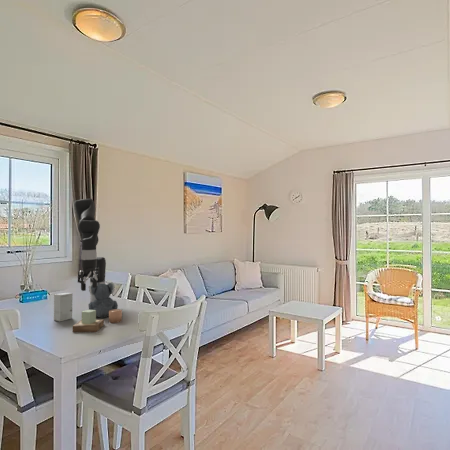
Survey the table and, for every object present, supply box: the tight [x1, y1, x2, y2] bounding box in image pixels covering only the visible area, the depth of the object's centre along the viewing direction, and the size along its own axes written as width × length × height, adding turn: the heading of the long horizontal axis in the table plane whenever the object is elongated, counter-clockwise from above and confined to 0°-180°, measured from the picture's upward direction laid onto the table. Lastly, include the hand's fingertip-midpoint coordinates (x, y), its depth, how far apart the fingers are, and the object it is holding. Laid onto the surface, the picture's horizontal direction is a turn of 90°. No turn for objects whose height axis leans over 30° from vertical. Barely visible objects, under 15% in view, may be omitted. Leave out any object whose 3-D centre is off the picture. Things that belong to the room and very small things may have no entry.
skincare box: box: [53, 292, 73, 322], centre depth 197 cm, size 8×6×15 cm
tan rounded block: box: [108, 308, 123, 324], centre depth 193 cm, size 7×7×6 cm
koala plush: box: [88, 281, 119, 319], centre depth 207 cm, size 17×18×20 cm
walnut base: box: [72, 318, 105, 333], centre depth 179 cm, size 12×12×3 cm
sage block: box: [81, 308, 97, 324], centre depth 179 cm, size 5×5×6 cm
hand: (89, 289), depth 179 cm, fingers open, 8 cm apart
